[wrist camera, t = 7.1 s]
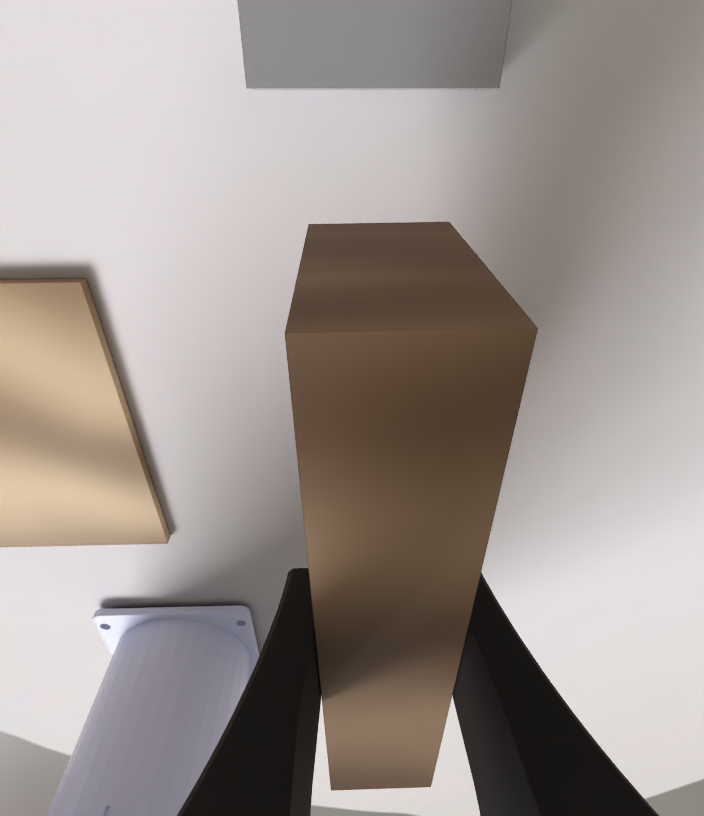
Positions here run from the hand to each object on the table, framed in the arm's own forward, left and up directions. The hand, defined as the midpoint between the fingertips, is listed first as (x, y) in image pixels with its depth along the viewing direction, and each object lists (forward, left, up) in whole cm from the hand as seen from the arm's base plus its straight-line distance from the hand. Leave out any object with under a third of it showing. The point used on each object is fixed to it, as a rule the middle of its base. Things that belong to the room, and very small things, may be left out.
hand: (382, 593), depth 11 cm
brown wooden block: (0, 0, -3) cm, 3 cm away
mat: (-1, +13, -8) cm, 15 cm away
